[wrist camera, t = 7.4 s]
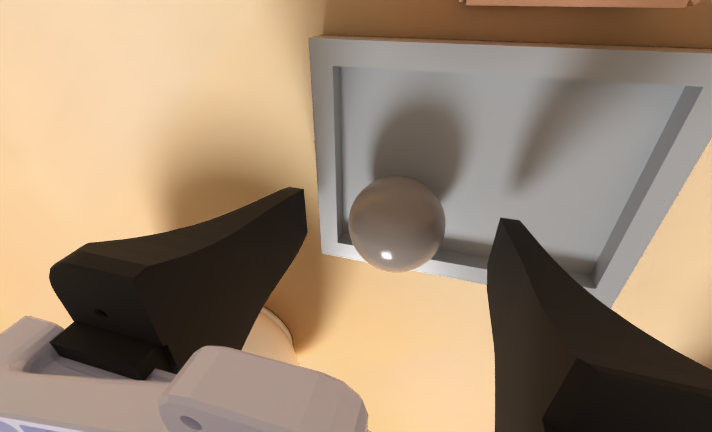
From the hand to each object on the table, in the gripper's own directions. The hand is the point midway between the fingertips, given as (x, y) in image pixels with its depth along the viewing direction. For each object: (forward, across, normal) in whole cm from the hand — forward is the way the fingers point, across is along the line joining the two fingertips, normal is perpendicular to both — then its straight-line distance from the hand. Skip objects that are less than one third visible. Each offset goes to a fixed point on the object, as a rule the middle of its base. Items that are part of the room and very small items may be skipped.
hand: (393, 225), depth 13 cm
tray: (+2, -3, -1) cm, 4 cm away
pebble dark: (+2, 0, 0) cm, 2 cm away
